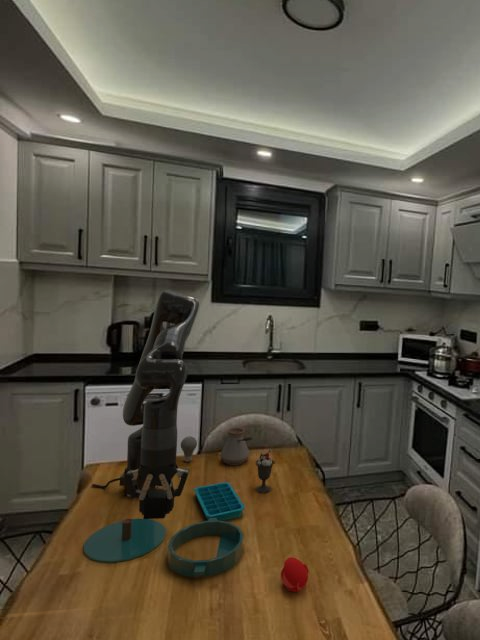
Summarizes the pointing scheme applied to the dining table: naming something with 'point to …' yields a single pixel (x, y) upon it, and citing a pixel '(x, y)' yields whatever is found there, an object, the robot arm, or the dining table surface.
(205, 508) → the ice cube tray
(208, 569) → the teal tabbed round part
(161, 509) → the block
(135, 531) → the lid
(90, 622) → the dining table surface
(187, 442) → the light bulb
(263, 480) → the sundae
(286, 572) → the red rounded oval piece
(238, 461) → the coffee pot
